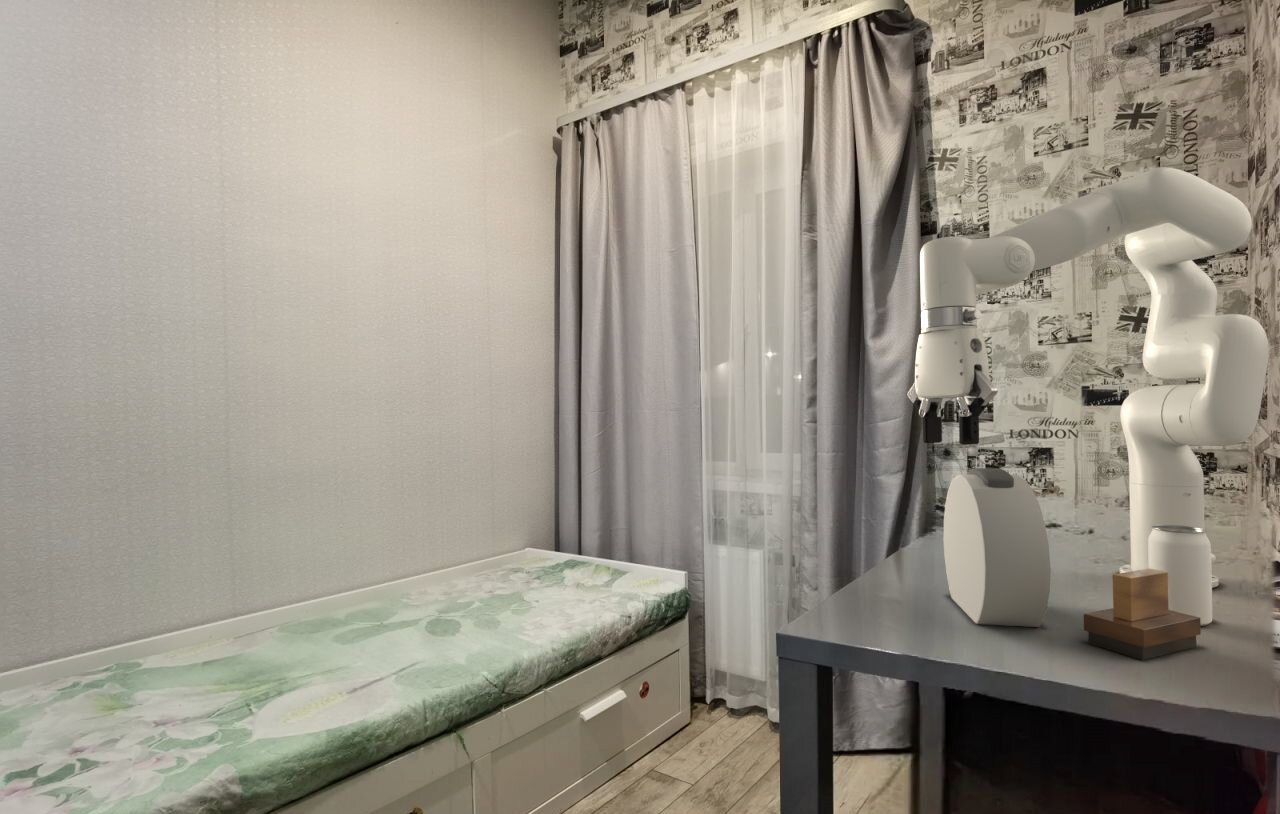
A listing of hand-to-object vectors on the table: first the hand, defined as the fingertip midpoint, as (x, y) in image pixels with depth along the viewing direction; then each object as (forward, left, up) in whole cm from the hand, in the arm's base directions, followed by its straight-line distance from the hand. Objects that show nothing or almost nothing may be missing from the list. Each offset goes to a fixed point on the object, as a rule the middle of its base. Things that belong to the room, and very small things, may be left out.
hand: (950, 442), depth 99 cm
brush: (-4, +23, -23) cm, 33 cm away
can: (-19, +19, -23) cm, 36 cm away
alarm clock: (0, +6, -23) cm, 24 cm away
